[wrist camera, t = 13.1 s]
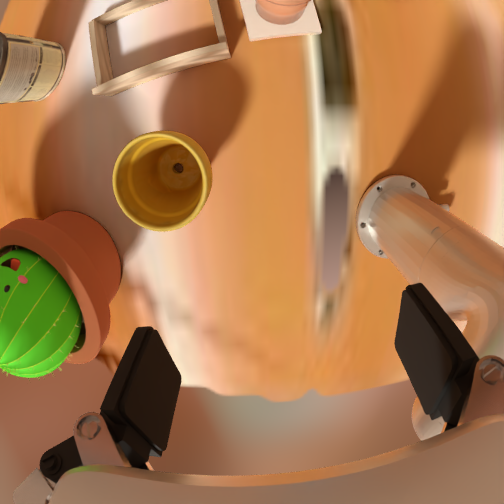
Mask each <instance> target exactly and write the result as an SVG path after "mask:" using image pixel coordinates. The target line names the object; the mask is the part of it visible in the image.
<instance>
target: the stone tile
mask: <svg viewBox="0 0 504 504" xmlns="http://www.w3.org/2000/svg"><path fill="white" fill-rule="evenodd" d="M239 1H240V5H241V9H242V12H243V16H244V20H245V24H246V28H247V32H248V36H249V40H250V41H256V40H263V39H270V38H278V37H287V36H298V35H312V34H321V33H322V30H321V26H320V23H319V19H318V16H317V13H316V9H315V6H314V3H313V0H311V1H309V2H308V4H307V6H306V8H305V10H304V13H303V15H302V16H301V18H300V19H298V20H297V21H295V22H293V23H291V24H286V25H278V24H273V23H270V22H268V21H266V20H264V19H263V18H261V17H260V16H259V14H258V13H257V11H256V7H255V0H239Z"/></svg>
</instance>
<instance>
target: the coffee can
mask: <svg viewBox="0 0 504 504" xmlns="http://www.w3.org/2000/svg"><path fill="white" fill-rule="evenodd" d="M65 62H66V59H65V51H64V49H63V47H62V46H61V45H60V44H59V43H57V42H50V41H46V40H41V39H36V38H30V37H25V36H20V35H13V34H6V33H1V32H0V104H4V103H14V102H26V101H40V100H43V99H45V98H46V97H48V96H49V95H50V94H51V93H52V92H53V91H54V89H55V88H56V87H57V85H58V84H59V82H60V80H61V78H62V75H63V72H64V68H65Z"/></svg>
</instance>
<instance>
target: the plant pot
mask: <svg viewBox="0 0 504 504" xmlns="http://www.w3.org/2000/svg"><path fill="white" fill-rule="evenodd" d="M177 163H180V164H181V165H182V166H183V171H182V172H180V173H179V172H176V171H175V169H174V166H175V165H176V164H177ZM112 184H113V191H114V194H115V197H116V200H117V202H118V204H119V206H120V208H121V209H122V211H123V212H124V213H125V214H126V215H127V216H128V217H129V218H130V219H131V220H132V221H133V222H135V223H136V224H138V225H139V226H141V227H143V228H146V229H149V230H153V231H172V230H176V229H179V228H181V227H183V226H185V225H187V224H188V223H190V222H191V221H192V220H193V219H194V218H195V217H196V216H197V215H198V214H199V212H200V211H201V209H202V208H203V206H204V204H205V203H206V201H207V199H208V196H209V194H210V190H211V186H212V168H211V164H210V161H209V159H208V157H207V155H206V153H205V151H204V150H203V149H202V147H201V146H200V145H199V144H198V143H197V142H196V141H194V140H193V139H192V138H190V137H188V136H187V135H184V134H182V133H179V132H175V131H155V132H150V133H146V134H143V135H140V136H138V137H136V138H135V139H133V140H132V141H131V142H129V143H128V144H127V145H126V146H125V147H124V148H123V150H122V151H121V153H120V154H119V156H118V158H117V160H116V162H115V165H114V169H113V177H112Z"/></svg>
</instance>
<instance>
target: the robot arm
mask: <svg viewBox="0 0 504 504" xmlns="http://www.w3.org/2000/svg"><path fill="white" fill-rule="evenodd" d="M377 187H378V189H377ZM362 222H363V223H362ZM361 223H362V224H361ZM356 228H357V233H358V235H359V238H360V240H361V242H362V243H363V245H364V246H365V247H366V248H367V249H368V251H370V252H371V253H372V254H374V255H376V256H378V257H382V258H389V259H390V260H391V262H392V263H393V264H394V265H395V266H396V268H397V269H398V270H399V271H400V273H401V274H402V275H403V276H404V278H405V279H406V280H407V281H408V283H409V284H410V285H408V286H407V287H406V290H404V291H403V292H402V299H401V306H400V313H399V319H398V326H397V331H396V337H395V348H396V351H397V353H398V355H399V357H400V359H401V361H402V363H403V365H404V368H405V370H406V372H407V374H408V376H409V378H410V381H411V383H412V385H413V387H414V390H415V392H416V394H417V397H416V399H415V402H414V405H413V409H412V422H413V426H414V429H415V431H416V433H417V435H418V436H419V438H420V439H421V441H420V442H417V443H414V444H411V445H408V446H406V447H403V448H400V449H397V450H394V451H390V452H387V453H384V454H380V455H377V456H374V457H370V458H366V459H362V460H358V461H354V462H349V463H345V464H340V465H336V466H330V467H324V468H319V469H312V470H306V471H299V472H290V473H280V474H269V475H268V474H267V475H249V476H209V475H207V476H206V475H191V474H179V473H169V472H160V471H154V470H153V468H152V467H151V465H150V464H149V462H148V459H149V456H157V457H161V456H162V451H164V450H166V447H167V442H168V438H169V434H170V429H171V424H172V419H173V415H174V411H175V407H176V402H177V397H178V394H179V389H180V385H181V374H180V372H179V371H178V369H177V367H176V365H175V363H174V362H173V360H172V358H171V356H170V354H169V352H168V350H167V349H166V347H165V345H164V343H163V341H162V339H161V337H160V335H159V333H158V331H157V330H154V329H153V328H152V327H150V326H148V327H138V328H136V330H135V332H134V334H133V336H132V338H131V340H130V342H129V344H128V346H127V348H126V351H125V353H124V355H123V357H122V359H121V361H120V364H119V366H118V368H117V370H116V373H115V375H114V377H113V379H112V382H111V384H110V386H109V389H108V391H107V394H106V396H105V399H104V401H103V403H102V405H101V408H100V409H101V412H100V414H99V413H95V412H88V413H85V414H83V415H82V416H80V417H79V418H78V420H77V421H76V423H75V424H74V429H73V433H74V436H72V437H70V438H69V439H67V440H65V441H64V442H62V443H60V444H58V445H57V446H55V447H53V448H51V449H49V450H48V451H46V452H45V453H44V454H43V456H42V457H41V460H40V470H39V469H38V468H36V469H35V470H34V471H33V472H32V473H31V474H30V475H29V476H28V477H27V478H26V479H25V480H24V481H23V482H22V483H21V484H20V485H19V486H18V487H17V488H16V490H15V491H14V494H13V501H14V504H504V248H503V247H502V246H500V245H499V244H497V243H496V242H494V241H493V240H491V239H490V238H488V237H487V236H485V235H484V234H482V233H481V232H479V231H478V230H476V229H475V228H473V227H472V226H470V225H469V224H467V223H466V222H464V221H463V220H461V219H460V218H458V217H456V216H455V215H453V214H452V213H450V212H449V206H448V204H440V205H438V204H436V203H435V202H433V201H431V200H430V199H429V196H428V194H427V192H426V190H425V189H424V188H423V186H422V185H421V184H420V183H418V182H417V181H416V180H414V179H412V178H410V177H407V176H404V175H390V176H387V177H384V178H382V179H380V180H378V181H376V182H375V183H374V184H373V185H372V186H370V187H369V189H368V190H367V191H366V192H365V194H364V195H363V197H362V199H361V201H360V203H359V206H358V209H357V214H356ZM453 321H467V325H466V327H465V329H464V331H463V333H461V331H460V330H459V329H458V327H457V326H456V325H455V323H454V322H453Z"/></svg>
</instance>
